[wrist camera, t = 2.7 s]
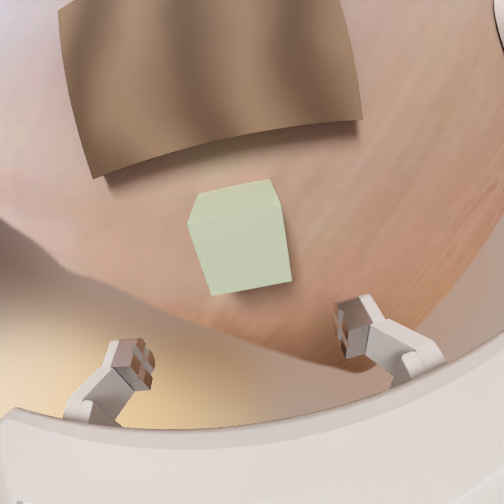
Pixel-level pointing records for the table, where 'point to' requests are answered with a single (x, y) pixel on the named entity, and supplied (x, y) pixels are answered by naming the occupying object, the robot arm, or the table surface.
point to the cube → (240, 237)
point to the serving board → (201, 72)
